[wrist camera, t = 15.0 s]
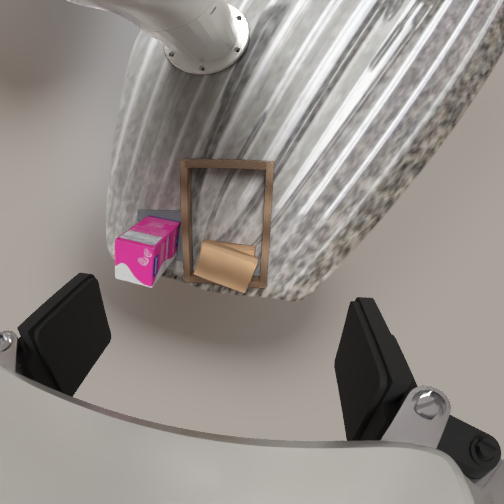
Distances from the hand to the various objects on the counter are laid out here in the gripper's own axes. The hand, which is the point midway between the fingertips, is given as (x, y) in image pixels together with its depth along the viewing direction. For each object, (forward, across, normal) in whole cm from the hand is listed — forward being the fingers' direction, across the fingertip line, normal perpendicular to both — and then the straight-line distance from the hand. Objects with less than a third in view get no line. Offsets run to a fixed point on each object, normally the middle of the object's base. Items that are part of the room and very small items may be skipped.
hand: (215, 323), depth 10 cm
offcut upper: (+31, +5, +12) cm, 34 cm away
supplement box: (+33, +15, +9) cm, 37 cm away
